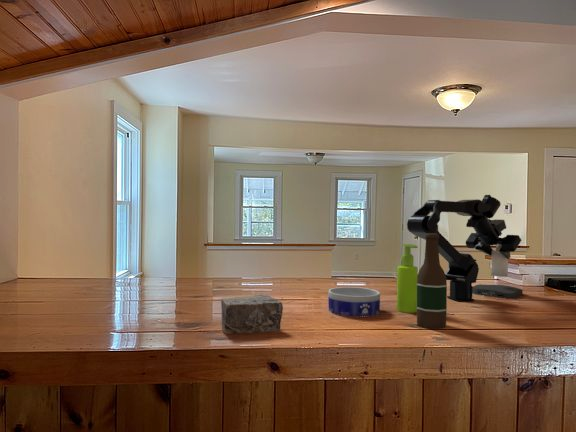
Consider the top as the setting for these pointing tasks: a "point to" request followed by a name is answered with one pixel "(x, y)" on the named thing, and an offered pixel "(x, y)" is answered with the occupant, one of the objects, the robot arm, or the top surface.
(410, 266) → the soap dispenser
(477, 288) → the media streaming box
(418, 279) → the beer bottle
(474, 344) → the top surface
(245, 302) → the stone block
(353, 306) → the dog bowl
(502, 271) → the bottle
